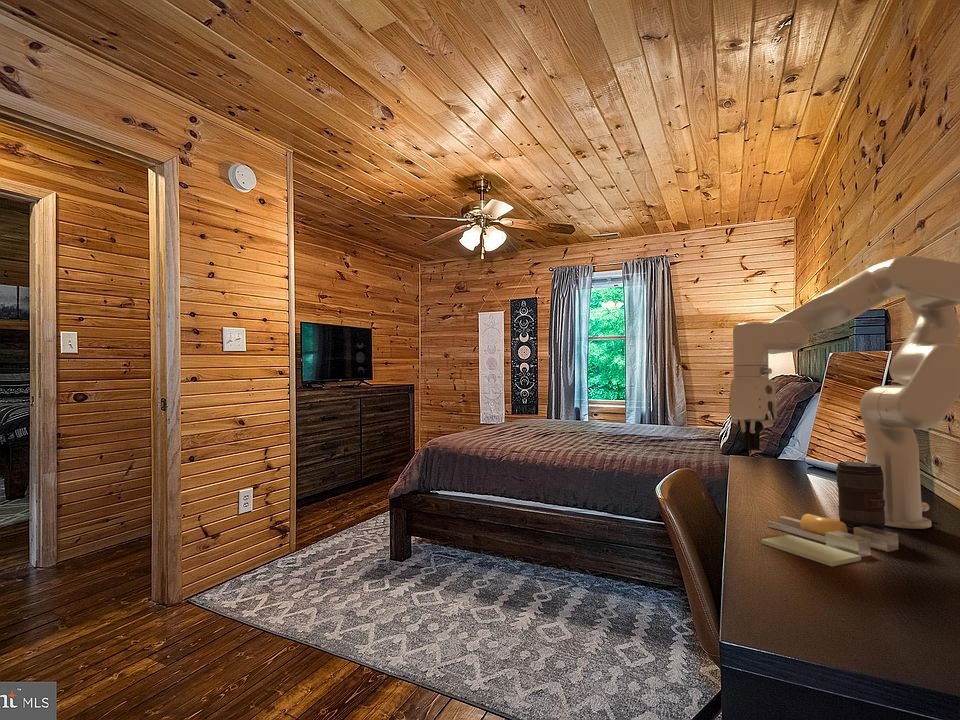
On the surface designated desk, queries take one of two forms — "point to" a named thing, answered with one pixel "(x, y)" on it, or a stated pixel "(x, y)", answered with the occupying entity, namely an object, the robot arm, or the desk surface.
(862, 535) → the housing
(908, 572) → the desk surface
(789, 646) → the desk surface
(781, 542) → the mat
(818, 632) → the desk surface
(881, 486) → the camera lens
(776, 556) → the desk surface
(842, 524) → the plug
